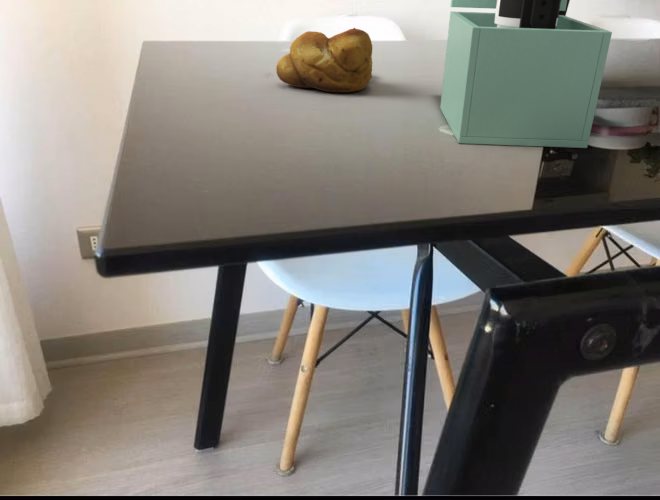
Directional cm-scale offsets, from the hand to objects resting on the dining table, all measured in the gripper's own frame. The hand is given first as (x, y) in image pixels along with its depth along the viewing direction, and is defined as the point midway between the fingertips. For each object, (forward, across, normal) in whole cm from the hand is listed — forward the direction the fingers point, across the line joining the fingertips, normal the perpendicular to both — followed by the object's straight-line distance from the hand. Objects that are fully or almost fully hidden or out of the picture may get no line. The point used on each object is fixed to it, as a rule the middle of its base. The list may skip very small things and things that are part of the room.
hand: (524, 30), depth 63 cm
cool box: (+10, 0, 0) cm, 10 cm away
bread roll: (+10, +17, +20) cm, 28 cm away
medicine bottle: (+8, 0, 0) cm, 8 cm away
